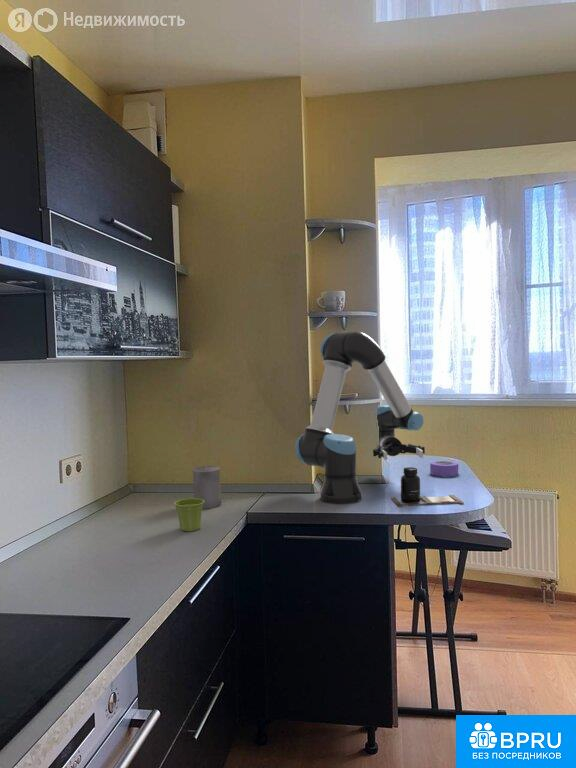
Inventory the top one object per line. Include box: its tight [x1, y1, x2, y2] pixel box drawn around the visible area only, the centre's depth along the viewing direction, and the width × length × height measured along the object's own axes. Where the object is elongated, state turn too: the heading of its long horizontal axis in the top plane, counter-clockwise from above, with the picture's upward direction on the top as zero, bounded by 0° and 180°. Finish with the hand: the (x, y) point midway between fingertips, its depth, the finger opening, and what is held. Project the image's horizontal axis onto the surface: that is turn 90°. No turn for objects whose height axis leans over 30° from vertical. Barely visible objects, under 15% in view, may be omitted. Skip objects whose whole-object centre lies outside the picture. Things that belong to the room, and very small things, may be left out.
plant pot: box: [173, 498, 204, 532], centre depth 183 cm, size 9×9×9 cm
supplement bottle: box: [400, 466, 421, 504], centre depth 208 cm, size 7×7×12 cm
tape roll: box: [429, 460, 459, 477], centre depth 252 cm, size 12×12×5 cm
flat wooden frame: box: [391, 494, 465, 508], centre depth 207 cm, size 23×11×1 cm, turn 93°
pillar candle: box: [192, 464, 222, 510], centre depth 211 cm, size 10×10×15 cm
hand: (404, 455), depth 218 cm, fingers open, 13 cm apart
